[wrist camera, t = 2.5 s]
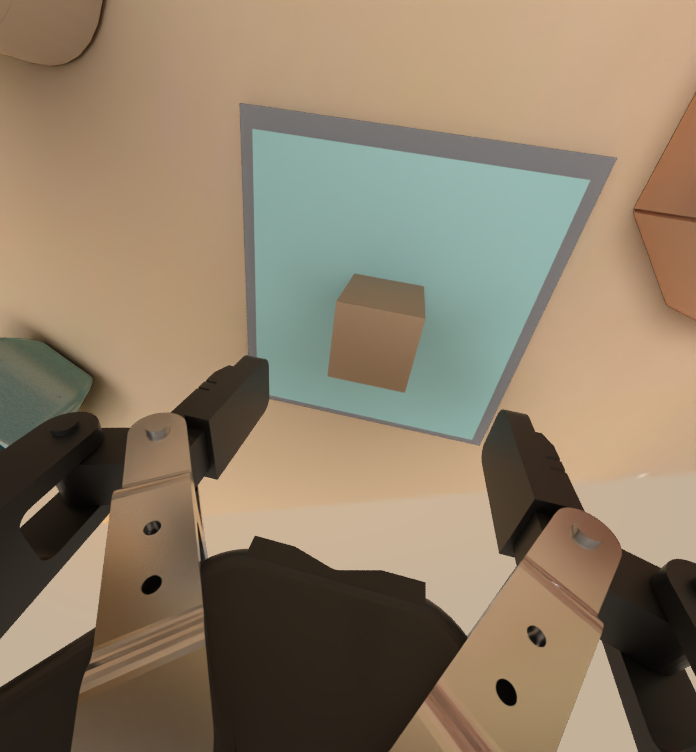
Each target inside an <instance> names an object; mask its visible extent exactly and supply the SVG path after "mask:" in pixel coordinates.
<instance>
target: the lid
mask: <svg viewBox="0 0 696 752" xmlns="http://www.w3.org/2000/svg"><path fill="white" fill-rule="evenodd" d="M252 135H253V187H254V239H255V291H256V343H257V357H258V358H263V359H267V360H268V363H269V395H271V396H276V397H280V398H285V399H289V400H294V401H298V402H303V403H307V404H312V405H316V406H321V407H326V408H330V409H335V410H339V411H344V412H348V413H353V414H357V415H362V416H366V417H371V418H375V419H380V420H384V421H389V422H393V423H398V424H402V425H407V426H411V427H416V428H420V429H425V430H429V431H434V432H438V433H443V434H447V435H452V436H456V437H461V438H465V439H470V440H472V439H473V437H474V435H475V432H476V430H477V428H478V426H479V424H480V422H481V419H482V417H483V415H484V413H485V411H486V408H487V406H488V404H489V402H490V400H491V397H492V395H493V393H494V391H495V389H496V386H497V384H498V382H499V380H500V378H501V375H502V373H503V371H504V369H505V367H506V364H507V362H508V360H509V358H510V356H511V353H512V351H513V349H514V347H515V345H516V342H517V340H518V338H519V336H520V334H521V332H522V329H523V327H524V325H525V323H526V321H527V318H528V316H529V314H530V312H531V310H532V307H533V305H534V303H535V301H536V299H537V296H538V294H539V292H540V290H541V288H542V285H543V283H544V281H545V279H546V277H547V274H548V272H549V270H550V268H551V266H552V263H553V261H554V259H555V257H556V255H557V253H558V250H559V248H560V246H561V244H562V242H563V239H564V237H565V235H566V233H567V231H568V228H569V226H570V224H571V222H572V220H573V217H574V215H575V213H576V211H577V209H578V206H579V204H580V202H581V200H582V198H583V195H584V193H585V191H586V189H587V187H588V184H589V182H590V180H586V179H580V178H573V177H567V176H560V175H553V174H547V173H540V172H534V171H527V170H520V169H514V168H507V167H501V166H494V165H488V164H481V163H474V162H468V161H461V160H455V159H448V158H441V157H435V156H428V155H422V154H415V153H409V152H402V151H395V150H389V149H382V148H376V147H369V146H362V145H356V144H349V143H343V142H336V141H330V140H323V139H316V138H310V137H303V136H297V135H290V134H284V133H277V132H270V131H264V130H257V129H252Z"/></svg>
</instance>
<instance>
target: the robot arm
mask: <svg viewBox="0 0 696 752" xmlns="http://www.w3.org/2000/svg"><path fill="white" fill-rule="evenodd" d="M102 1H103V0H0V53H1V54H4V55H8V56H11V57H14V58H18V59H21V60H25V61H28V62H32V63H36V64H42V65H48V66H54V65H59V64H65V63H67V62H69V61H71V60H72V59H74V58H76V57H77V56H79V55H80V54H81V53H82V52H83V50H84V49H85V48H86V47H87V45H88V44H89V43H90V41H91V39H92V37H93V34H94V32H95V30H96V27H97V25H98V22H99V16H100V11H101V6H102ZM268 402H269V363H268V360H267V359H263V358H258V357H253V356H248V355H245V356H244V357H243V358H242V359H241V360H240V361H239V362H238V363H237V364H236V365H235V366H234V367H233V366H227V367H225V368H222V369H220V370H218V371H216V372H214V373H213V374H212V375H211V376H210V377H209V378H208V379H207V380H206V382H204V383H202V384H201V385H200V386H199V388H198V389H196V390H195V391H194V392H193V393H192V394H190V395H189V396H188V397H187V398H186V399H185V400H184V401H183V402H182V403H181V404H179V405H178V406H177V407H176V408H175V409H174V410H173V411H172V412H171V413H157V414H152V415H149V416H147V417H144V418H142V419H140V420H139V421H137V422H136V423H135V424H133V425H132V426H131V428H101V426H100V423H99V420H98V418H97V417H96V416H95V415H93V414H91V413H87V412H72V413H66V414H62V415H59V416H56V417H53V418H51V419H49V420H47V421H45V422H43V423H42V424H40V425H39V426H37V427H36V428H34V429H33V430H31V431H30V432H28V433H27V434H25V435H24V436H23V437H21V438H20V439H18V440H17V441H15V442H14V443H12V444H11V445H9V446H8V447H7V448H5V449H4V450H2V451H1V452H0V638H1V637H2V636H3V635H4V634H5V633H6V631H7V630H8V629H9V628H10V627H11V626H12V625H13V624H14V622H15V621H16V620H17V619H18V618H19V617H20V616H21V614H22V613H23V612H24V611H25V610H26V608H27V607H28V606H29V605H30V604H31V603H32V602H33V600H34V599H35V598H36V597H37V596H38V595H39V593H41V591H42V590H43V589H44V588H45V587H46V586H47V584H48V583H49V582H50V581H51V580H52V578H54V576H55V575H56V574H57V573H58V572H59V571H60V569H61V568H62V567H63V566H64V565H65V564H66V562H67V561H68V560H69V559H70V558H71V557H72V556H73V555H74V553H75V552H76V551H77V550H78V549H79V548H80V546H81V545H82V544H83V543H84V542H85V540H87V538H88V537H89V536H90V535H91V534H92V532H93V531H94V530H95V529H96V528H97V527H98V526H99V525H100V523H101V522H102V521H103V520H104V519H105V518H106V517H107V515H108V514H109V513H110V516H109V524H108V532H107V540H106V548H105V556H104V565H103V573H102V580H101V589H100V596H99V605H98V612H97V620H96V627H95V628H94V629H92V630H91V631H89V632H87V633H86V634H84V635H83V636H81V637H79V638H78V639H76V640H75V641H73V642H72V643H70V644H68V645H67V646H65V647H64V648H62V649H60V650H59V651H57V652H56V653H54V654H52V655H51V656H49V657H48V658H46V659H44V660H43V661H41V662H40V663H38V664H37V665H35V666H33V667H32V668H30V669H28V670H27V671H25V672H24V673H22V674H21V675H19V676H17V677H16V678H14V679H13V680H11V681H9V682H8V683H6V684H5V685H3V686H1V687H0V752H556V751H557V749H558V746H559V743H560V741H561V738H562V736H563V733H564V730H565V728H566V725H567V723H568V720H569V717H570V715H571V712H572V710H573V707H574V704H575V702H576V699H577V697H578V694H579V691H580V689H581V686H582V683H583V681H584V678H585V676H586V673H587V670H588V667H589V665H590V663H591V660H592V657H593V655H594V652H595V650H596V647H597V644H598V642H599V639H600V640H602V643H603V645H604V649H605V652H606V654H607V658H608V661H609V664H610V667H611V670H612V673H613V676H614V679H615V682H616V685H617V688H618V691H619V694H620V698H621V700H622V704H623V707H624V709H625V713H626V716H627V719H628V722H629V725H630V728H631V731H632V734H633V737H634V740H635V743H636V746H637V749H638V752H696V692H695V689H694V687H693V685H692V683H691V681H690V679H689V677H688V675H687V673H686V671H685V668H687V667H689V666H691V668H692V670H693V672H694V673H695V676H696V563H693V562H690V561H687V560H682V559H674V560H671V561H669V562H668V563H667V564H666V565H664V566H663V567H662V568H659V567H658V566H655V565H653V564H651V563H649V562H647V561H645V560H643V559H641V558H639V557H637V556H635V555H633V554H631V553H629V552H627V551H625V550H623V549H621V546H620V543H619V541H618V540H617V538H616V536H615V535H614V534H613V533H612V531H611V530H610V529H609V528H608V527H607V526H606V525H605V524H603V523H602V522H601V521H600V520H598V519H597V518H595V517H594V516H592V515H590V514H588V513H586V512H585V511H584V509H583V507H582V505H581V503H580V501H579V498H578V496H577V495H576V492H575V490H574V488H573V486H572V484H571V482H570V479H569V477H568V475H567V473H565V469H564V467H563V465H562V462H560V458H559V456H558V454H557V452H556V450H555V448H554V446H553V445H552V444H551V443H550V442H549V441H548V440H547V438H546V437H545V436H544V435H543V434H542V433H537V432H535V430H534V428H533V426H532V423H531V421H530V419H529V416H528V415H526V414H522V413H517V412H512V411H508V410H501V411H500V412H499V413H498V415H497V417H496V419H495V421H494V424H493V426H492V428H491V430H490V432H489V435H488V437H487V439H486V441H485V443H484V446H483V450H482V466H483V471H484V476H485V482H486V487H487V492H488V497H489V501H490V508H491V513H492V518H493V523H494V528H495V533H496V538H497V544H498V549H499V553H500V554H503V555H507V556H511V557H515V560H516V564H517V567H516V568H515V570H514V571H513V572H512V574H511V575H510V576H509V578H508V579H507V581H506V582H505V584H504V585H503V586H502V588H501V589H500V591H499V592H498V593H497V595H496V596H495V598H494V599H493V600H492V602H491V603H490V605H489V606H488V608H487V609H486V611H485V612H484V613H483V615H482V616H481V618H480V619H479V620H478V622H477V623H476V624H475V626H474V627H473V629H472V630H471V632H470V633H469V634H468V636H466V635H465V633H464V632H463V631H462V629H461V628H460V627H459V626H458V625H457V624H456V623H455V621H453V619H452V618H451V617H450V616H448V615H447V614H446V613H445V612H444V611H443V610H442V609H441V608H439V607H438V606H437V605H435V604H434V603H433V602H431V601H430V600H428V599H426V598H425V582H422V581H418V580H415V579H410V578H407V577H404V576H400V575H396V574H393V573H389V572H385V571H382V570H378V571H377V570H371V571H369V570H367V571H365V570H364V571H363V570H362V571H361V570H348V571H347V570H334V569H332V568H330V567H328V566H327V565H325V564H323V563H322V562H320V561H318V560H317V559H315V558H313V557H311V556H310V555H308V554H306V553H305V552H303V551H301V550H300V549H298V548H296V547H294V546H291V545H287V544H283V543H279V542H275V541H272V540H269V539H265V538H261V537H257V536H255V537H254V539H253V541H252V543H251V545H250V547H249V549H240V550H232V551H227V552H224V553H220V554H217V555H215V556H212V557H209V558H208V555H207V549H206V543H205V535H204V527H203V519H202V511H201V502H200V494H199V487H198V484H199V483H200V481H201V480H202V479H203V477H204V476H205V477H209V478H213V479H217V480H218V478H219V477H220V475H221V474H222V472H223V471H224V470H225V468H226V467H227V465H228V464H229V462H230V461H231V459H232V458H233V457H234V455H235V454H236V452H237V451H238V449H239V448H240V447H241V445H242V444H243V442H244V441H245V439H246V438H247V436H248V435H249V434H250V432H251V431H252V429H253V428H254V426H255V425H256V424H257V422H258V421H259V419H260V418H261V416H262V415H263V413H264V412H265V410H266V408H267V405H268ZM55 485H56V486H57V488H58V490H59V493H58V494H57V495H55V496H54V497H53V498H52V499H51V500H50V501H49V502H48V503H47V504H46V505H45V506H43V508H41V509H40V510H39V511H38V512H37V513H36V514H35V515H34V516H33V517H32V518H30V519H29V520H28V521H27V522H26V523H25V524H24V525H23V526H22V527H21V528H20V523H21V520H22V518H23V516H24V515H25V513H26V512H27V511H28V510H29V509H30V508H31V507H32V506H33V505H34V504H35V503H36V502H37V501H39V500H40V499H41V498H42V497H43V496H44V495H45V494H46V493H48V491H50V490H51V489H52V488H53V487H54V486H55Z"/></svg>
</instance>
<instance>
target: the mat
mask: <svg viewBox="0 0 696 752" xmlns="http://www.w3.org/2000/svg"><path fill="white" fill-rule="evenodd" d="M240 129H241V158H242V186H243V215H244V244H245V272H246V301H247V330H248V356H253V357H257V343H256V291H255V239H254V187H253V135H252V129H257V130H264V131H270V132H277V133H284V134H290V135H297V136H303V137H310V138H316V139H323V140H330V141H336V142H343V143H349V144H356V145H362V146H369V147H376V148H382V149H389V150H395V151H402V152H409V153H415V154H422V155H428V156H435V157H441V158H448V159H455V160H461V161H468V162H474V163H481V164H488V165H494V166H501V167H507V168H514V169H520V170H527V171H534V172H540V173H547V174H553V175H560V176H567V177H573V178H580V179H586V180H590V182H589V184H588V187H587V189H586V191H585V193H584V195H583V198H582V200H581V202H580V204H579V206H578V209H577V211H576V213H575V215H574V217H573V220H572V222H571V224H570V226H569V228H568V231H567V233H566V235H565V237H564V239H563V242H562V244H561V246H560V248H559V250H558V253H557V255H556V257H555V259H554V261H553V263H552V266H551V268H550V270H549V272H548V274H547V277H546V279H545V281H544V283H543V285H542V288H541V290H540V292H539V294H538V296H537V299H536V301H535V303H534V305H533V307H532V310H531V312H530V314H529V316H528V318H527V321H526V323H525V325H524V327H523V329H522V332H521V334H520V336H519V338H518V340H517V342H516V345H515V347H514V349H513V351H512V353H511V356H510V358H509V360H508V362H507V364H506V367H505V369H504V371H503V373H502V375H501V378H500V380H499V382H498V384H497V386H496V389H495V391H494V393H493V395H492V397H491V400H490V402H489V404H488V406H487V408H486V411H485V413H484V415H483V417H482V419H481V422H480V424H479V426H478V428H477V430H476V432H475V435H474V437H473V439H472V440H470V439H465V438H461V437H456V436H452V435H447V434H443V433H438V432H434V431H429V430H425V429H420V428H416V427H411V426H407V425H402V424H398V423H393V422H389V421H384V420H380V419H375V418H371V417H366V416H362V415H357V414H353V413H348V412H344V411H339V410H335V409H330V408H326V407H321V406H316V405H312V404H307V403H303V402H298V401H294V400H289V399H285V398H280V397H276V396H271V395H269V399H273V400H277V401H282V402H286V403H291V404H295V405H300V406H304V407H309V408H313V409H318V410H322V411H327V412H331V413H336V414H340V415H345V416H349V417H354V418H358V419H363V420H367V421H372V422H376V423H381V424H385V425H390V426H394V427H399V428H403V429H408V430H412V431H417V432H421V433H426V434H430V435H435V436H439V437H443V438H448V439H452V440H457V441H461V442H466V443H470V444H475V445H479V446H480V444H481V442H482V440H483V438H484V435H485V433H486V431H487V429H488V427H489V425H490V423H491V421H492V419H493V417H494V415H495V412H496V410H497V408H498V406H499V404H500V402H501V400H502V398H503V396H504V394H505V392H506V389H507V387H508V385H509V383H510V381H511V379H512V377H513V375H514V373H515V371H516V369H517V366H518V364H519V362H520V360H521V358H522V356H523V354H524V352H525V350H526V348H527V346H528V343H529V341H530V339H531V337H532V335H533V333H534V331H535V329H536V327H537V325H538V323H539V320H540V318H541V316H542V314H543V312H544V310H545V308H546V306H547V304H548V302H549V300H550V297H551V295H552V293H553V291H554V289H555V287H556V285H557V283H558V281H559V279H560V277H561V275H562V272H563V270H564V268H565V266H566V264H567V262H568V260H569V258H570V256H571V254H572V252H573V249H574V247H575V245H576V243H577V241H578V239H579V237H580V235H581V233H582V231H583V229H584V226H585V224H586V222H587V220H588V218H589V216H590V214H591V212H592V210H593V208H594V206H595V203H596V201H597V199H598V197H599V195H600V193H601V191H602V189H603V187H604V185H605V183H606V180H607V178H608V176H609V174H610V172H611V170H612V168H613V166H614V164H615V162H616V160H617V158H614V157H608V156H601V155H594V154H587V153H580V152H573V151H566V150H560V149H553V148H546V147H539V146H532V145H525V144H518V143H511V142H505V141H498V140H491V139H484V138H477V137H470V136H463V135H456V134H450V133H443V132H436V131H429V130H422V129H415V128H408V127H402V126H395V125H388V124H381V123H374V122H367V121H360V120H353V119H347V118H340V117H333V116H326V115H319V114H312V113H305V112H299V111H292V110H285V109H278V108H271V107H264V106H257V105H250V104H244V103H240Z"/></svg>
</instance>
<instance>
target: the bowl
mask: <svg viewBox="0 0 696 752" xmlns="http://www.w3.org/2000/svg"><path fill="white" fill-rule="evenodd" d="M634 208H635V209H638V210H637V211H635V212H633V213H634V216H635V219H636V221H637V224H638V227H639V230H640V233H641V235H642V238H643V241H644V244H645V247H646V249H647V252H648V255H649V258H650V261H651V263H652V266H653V269H654V272H655V275H656V277H657V280H658V283H659V286H660V289H661V291H662V294H663V297H664V300H665V303H666V305H668V306H669V307H671V308H673V309H675V310H677V311H679V312H681V313H683V314H685V315H686V316H688V317H690V318H692V319H694V320H696V94H695V96H694V98H693V99H692V101H691V103H690V105H689V107H688V109H687V111H686V112H685V114H684V116H683V118H682V120H681V122H680V124H679V125H678V127H677V129H676V131H675V133H674V135H673V137H672V138H671V140H670V142H669V144H668V146H667V148H666V150H665V151H664V153H663V155H662V157H661V159H660V161H659V163H658V164H657V166H656V168H655V170H654V172H653V174H652V176H651V177H650V179H649V181H648V183H647V185H646V187H645V189H644V190H643V192H642V194H641V196H640V198H639V200H638V202H637V203H636V205H635V207H634Z"/></svg>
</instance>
